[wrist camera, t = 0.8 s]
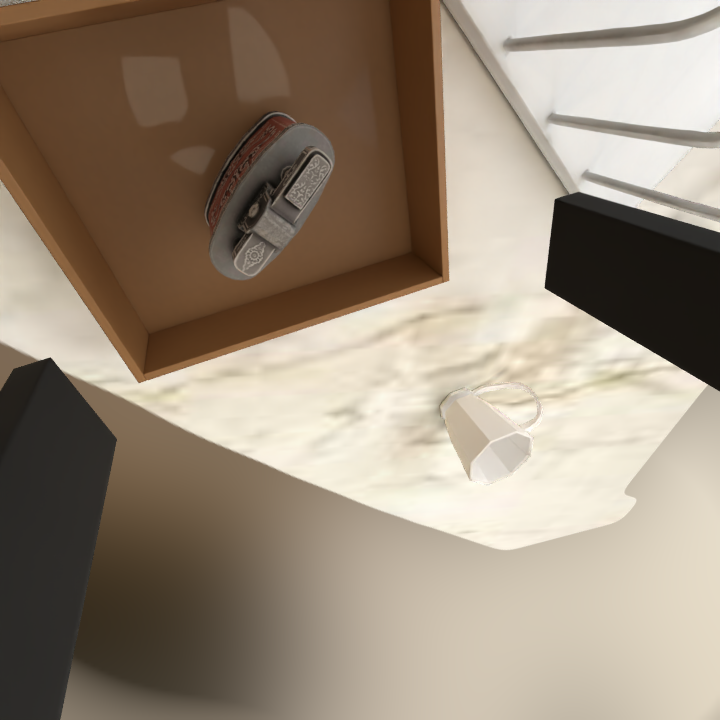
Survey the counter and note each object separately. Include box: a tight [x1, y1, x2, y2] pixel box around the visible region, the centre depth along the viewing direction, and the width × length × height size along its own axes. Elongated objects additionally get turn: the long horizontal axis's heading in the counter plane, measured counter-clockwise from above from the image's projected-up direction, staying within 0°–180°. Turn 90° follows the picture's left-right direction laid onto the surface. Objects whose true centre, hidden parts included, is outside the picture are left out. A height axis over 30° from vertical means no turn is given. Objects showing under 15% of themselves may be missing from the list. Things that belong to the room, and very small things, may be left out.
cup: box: [440, 382, 543, 485], centre depth 40 cm, size 7×10×8 cm
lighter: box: [204, 111, 335, 280], centre depth 21 cm, size 8×3×10 cm, turn 138°
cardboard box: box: [0, 0, 449, 383], centre depth 23 cm, size 17×21×5 cm
